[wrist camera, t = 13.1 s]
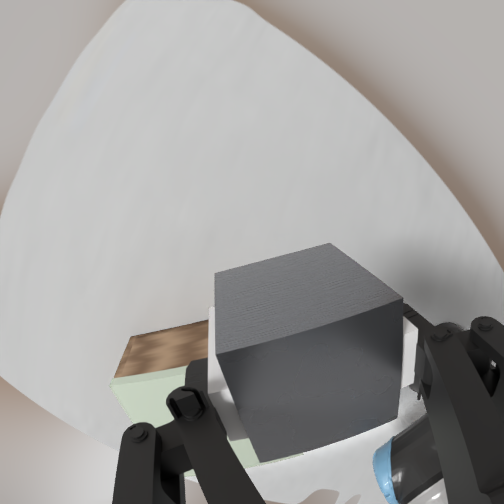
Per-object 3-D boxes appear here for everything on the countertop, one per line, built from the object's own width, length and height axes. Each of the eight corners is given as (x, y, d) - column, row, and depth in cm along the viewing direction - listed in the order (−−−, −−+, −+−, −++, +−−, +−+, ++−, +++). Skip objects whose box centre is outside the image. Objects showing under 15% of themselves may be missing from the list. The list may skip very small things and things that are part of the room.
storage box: (263, 305, 43) (276, 344, 33) (287, 403, 49) (300, 445, 39) (130, 336, 42) (113, 378, 32) (177, 425, 48) (174, 468, 38)
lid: (277, 344, 33) (281, 358, 30) (301, 447, 39) (305, 460, 36) (112, 378, 32) (106, 392, 29) (174, 470, 38) (173, 483, 35)
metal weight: (329, 242, 16) (403, 297, 9) (342, 338, 17) (397, 418, 11) (214, 273, 15) (215, 354, 9) (243, 367, 17) (260, 463, 10)
